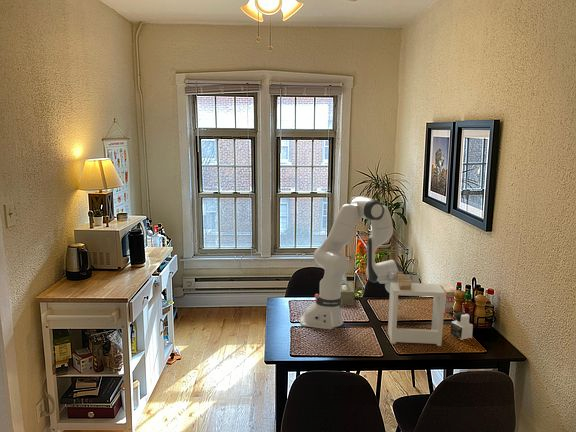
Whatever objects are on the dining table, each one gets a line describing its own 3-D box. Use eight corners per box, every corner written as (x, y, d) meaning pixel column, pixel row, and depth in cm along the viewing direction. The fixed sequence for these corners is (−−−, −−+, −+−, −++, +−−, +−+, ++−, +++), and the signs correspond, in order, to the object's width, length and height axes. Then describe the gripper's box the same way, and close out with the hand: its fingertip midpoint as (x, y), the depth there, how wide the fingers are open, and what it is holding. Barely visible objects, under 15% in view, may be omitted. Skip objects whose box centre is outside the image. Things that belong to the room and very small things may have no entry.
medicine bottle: (450, 335, 222) (451, 312, 220) (461, 332, 225) (463, 309, 222) (460, 341, 215) (462, 317, 213) (472, 338, 218) (474, 315, 216)
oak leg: (410, 290, 209) (411, 280, 208) (399, 289, 209) (400, 280, 208) (404, 277, 227) (404, 268, 227) (394, 277, 228) (394, 268, 227)
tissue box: (336, 293, 279) (337, 269, 276) (352, 294, 278) (353, 269, 276) (337, 305, 261) (337, 278, 258) (354, 305, 260) (355, 279, 257)
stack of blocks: (434, 298, 271) (436, 279, 269) (445, 299, 271) (446, 279, 269) (444, 312, 250) (446, 291, 248) (456, 312, 250) (458, 291, 248)
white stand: (391, 343, 212) (393, 290, 208) (387, 332, 224) (390, 282, 220) (441, 345, 210) (445, 292, 206) (435, 334, 222) (438, 283, 218)
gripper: (376, 275, 239) (379, 268, 226) (415, 276, 237) (420, 270, 224) (376, 286, 236) (379, 281, 224) (416, 288, 235) (421, 282, 222)
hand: (400, 275), depth 224 cm, fingers open, 5 cm apart
